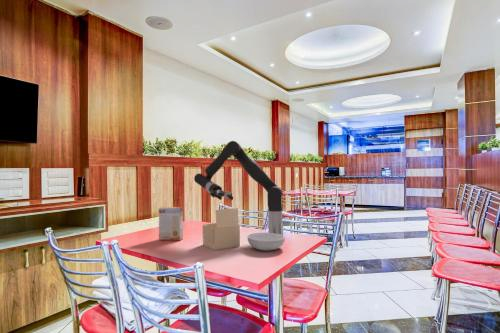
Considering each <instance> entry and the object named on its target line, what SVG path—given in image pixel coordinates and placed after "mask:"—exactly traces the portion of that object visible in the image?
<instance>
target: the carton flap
mask: <svg viewBox="0 0 500 333" xmlns="http://www.w3.org/2000/svg"><path fill="white" fill-rule="evenodd" d="M239 221H240V220H239V208H238V207H235V208H224V209H222V208H221V209H216V210H215V223H216V228H224V227H231V226H238V225H240V224H239Z"/></svg>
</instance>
